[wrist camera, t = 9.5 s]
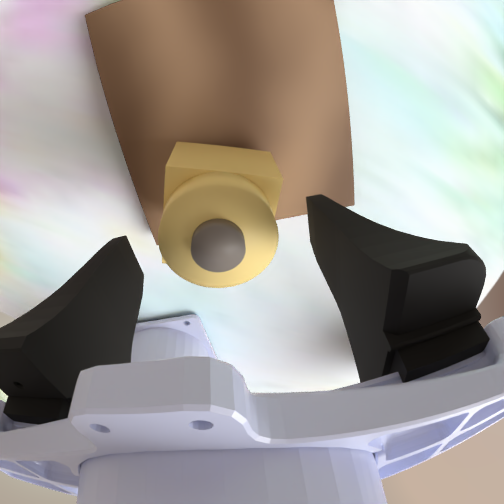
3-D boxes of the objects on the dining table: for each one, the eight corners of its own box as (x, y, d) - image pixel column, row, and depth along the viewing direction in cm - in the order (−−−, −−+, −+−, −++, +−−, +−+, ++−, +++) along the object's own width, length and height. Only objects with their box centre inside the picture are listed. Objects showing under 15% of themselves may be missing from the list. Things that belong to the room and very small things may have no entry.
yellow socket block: (254, 230, 18) (267, 300, 13) (171, 223, 17) (155, 292, 13) (270, 151, 15) (293, 200, 11) (176, 141, 15) (156, 186, 10)
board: (159, 234, 20) (156, 245, 19) (93, 16, 12) (84, 14, 11) (347, 196, 20) (354, 204, 19) (319, -31, 11) (325, -36, 10)
